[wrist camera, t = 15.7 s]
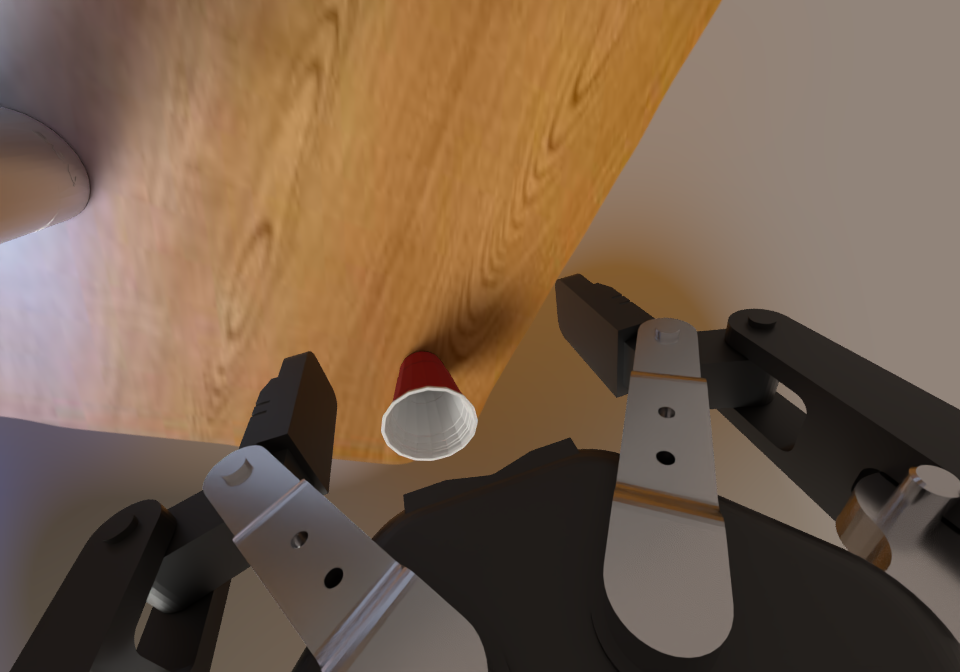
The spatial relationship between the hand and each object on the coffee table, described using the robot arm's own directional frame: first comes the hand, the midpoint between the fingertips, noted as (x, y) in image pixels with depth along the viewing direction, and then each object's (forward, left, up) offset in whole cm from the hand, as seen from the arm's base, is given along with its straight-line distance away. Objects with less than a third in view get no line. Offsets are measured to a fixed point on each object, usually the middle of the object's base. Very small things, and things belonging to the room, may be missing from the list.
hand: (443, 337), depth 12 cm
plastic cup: (-4, -24, -33) cm, 41 cm away
